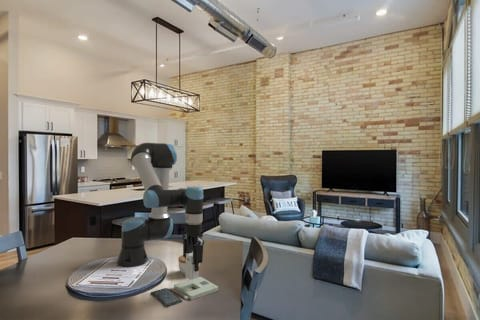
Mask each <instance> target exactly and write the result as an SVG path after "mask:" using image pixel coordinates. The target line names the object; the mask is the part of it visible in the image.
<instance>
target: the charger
mask: <svg viewBox="0 0 480 320" xmlns="http://www.w3.org/2000/svg"><path fill="white" fill-rule="evenodd" d="M185 254H186V253H185ZM192 263H194V262H193V252H192V253H189V254H186V272H185V275H184V276H185V278H186V279H187V280H192Z"/></svg>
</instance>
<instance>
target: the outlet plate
mask: <svg viewBox="0 0 480 320" xmlns="http://www.w3.org/2000/svg"><path fill="white" fill-rule="evenodd" d="M173 288H174V290H176V291H178V292H179V293H181V294H183V295H185V296H188V297H189V300H191V301H193V300H196V299H199V298H201V297H204V296H207V295H209V294H212V293H215V292H217V291H219V286H218V285H216V284H214V283H213V282H211V281H210V280H207V279H206V278H204V277H202V276H198V278H195V279H192V280H189V279H187V280H184V281H182V282H181V281H180V282H177V283H174V284H173ZM190 288H194V289H193V290H188V289H190Z"/></svg>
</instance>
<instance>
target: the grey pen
mask: <svg viewBox="0 0 480 320" xmlns="http://www.w3.org/2000/svg"><path fill="white" fill-rule="evenodd" d="M166 288H167V289H168V290H170V291H171V292H172V293H173V294H175V295H178V296H180V297H182V298H184V299H185V300H188V299H189V297H188V296H185V295H184V294H182V293H181V292H179V291H178V290H176V289H175V288H174V289H173V288H172V287H171V286H168V287H166ZM189 300H190V299H189Z"/></svg>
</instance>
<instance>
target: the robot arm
mask: <svg viewBox="0 0 480 320" xmlns="http://www.w3.org/2000/svg"><path fill="white" fill-rule="evenodd" d="M130 155H131V156H130V162H131V163H132V164H131V165H132V166H133V167H134V168H135V169H136V172H137V173H138V176H139V178H140V181H141V183H142V184H141V185H143V188H144V192H143V194H142V195H143V197H142V201H143V205H144V207H145V208H147V209H150V208H151V211H150V213H149V214H148V219H147V218H145V216H136V217H135V216H134V217H130V218H127V219H125V220H124V221H123V222H122V225H121V246H120V247H121V248H120V251H119V254H118V257H117V265H118V266H120V267H127V268H128V267H139V266H142V265H144V264H146V263H147V262H148V255H147V252H146V248H145V242H150V241H156V240H163V239H167V238H170V236H171V235H172V234H173V233H172V232H173V229H174V223H173V222H174V220H173V219H172V217H170V216H171V215H170V214H169V213H168V208H169V207H171V208H172V207H181V206H182V207H185V211H184V214H185V215H184V222H185V223H184V232H185V233H186V234H183V235H182V241H183V242H182V243H183V245H182V247H183V248H182V255H183V257H185V259H186V254H189V253H193V262H194V263H192V279H195V278H198V277H199V270H200V265H199V263H200V264H202V263H203V256H204V244H205V240H204V239H201V233H202V232H203V217H204V216H203V215H204V213H203V212H204V211H203V208H204V198H205V197H204V189H203V187H200V186H188V187H186V188H185V187H184V188H183V187H182V188H181V187H180V188H178V189H169V185H170V171H172V169H173V166H174V165H176V164H177V161H178V160H177V159H178V156H177V155H178V154H177V150H176V148H175V146H174V145H173V144H169V143H165V142H163V143H162V142H161V143H160V142H158V143H156V142H143V143H140V144H138V145H137V146H135V147H134V149H133V150H132V151H131V154H130Z"/></svg>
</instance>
